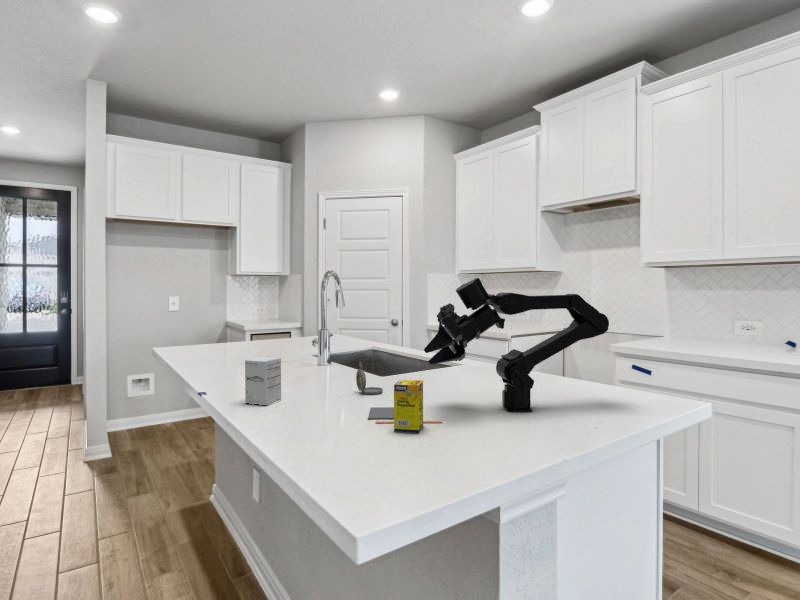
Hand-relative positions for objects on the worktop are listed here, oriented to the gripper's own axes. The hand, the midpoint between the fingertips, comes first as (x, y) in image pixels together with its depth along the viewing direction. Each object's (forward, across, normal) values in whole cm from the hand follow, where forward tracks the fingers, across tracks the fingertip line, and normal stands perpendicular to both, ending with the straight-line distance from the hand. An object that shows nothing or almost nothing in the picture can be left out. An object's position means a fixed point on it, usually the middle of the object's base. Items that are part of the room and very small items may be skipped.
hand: (427, 357), depth 122 cm
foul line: (+13, +1, +12) cm, 17 cm away
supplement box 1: (+45, -10, -20) cm, 50 cm away
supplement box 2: (+14, +6, +14) cm, 20 cm away
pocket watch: (+19, -25, -10) cm, 33 cm away
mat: (+15, -5, +6) cm, 17 cm away
